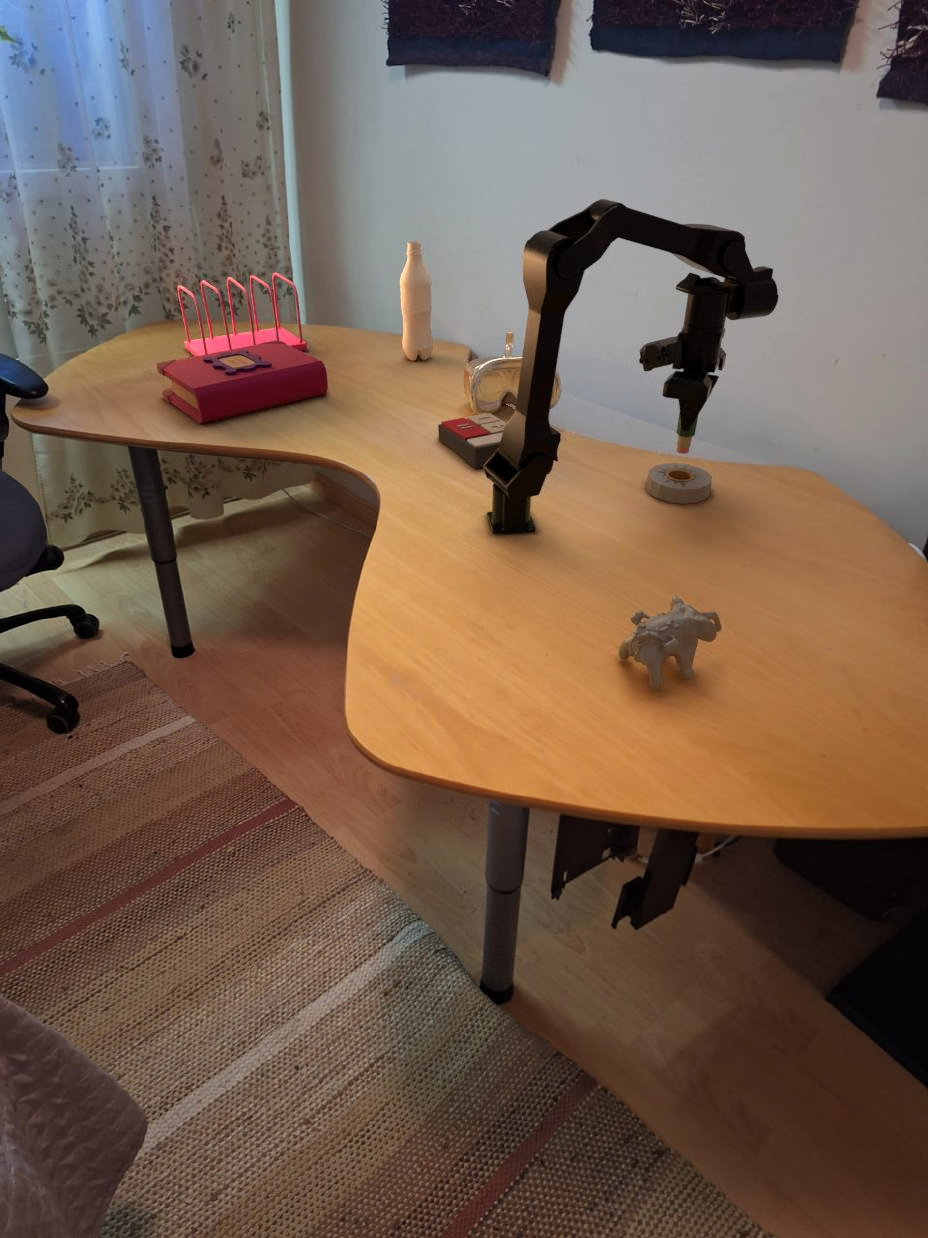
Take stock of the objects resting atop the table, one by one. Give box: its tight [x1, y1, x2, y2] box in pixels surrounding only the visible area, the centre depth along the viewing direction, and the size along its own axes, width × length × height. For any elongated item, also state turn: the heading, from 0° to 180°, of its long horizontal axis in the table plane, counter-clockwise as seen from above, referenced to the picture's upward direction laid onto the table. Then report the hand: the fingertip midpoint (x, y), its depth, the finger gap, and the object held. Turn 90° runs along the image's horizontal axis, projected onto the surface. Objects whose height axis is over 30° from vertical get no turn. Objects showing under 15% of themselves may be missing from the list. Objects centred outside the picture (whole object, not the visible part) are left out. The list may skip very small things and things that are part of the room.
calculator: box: [437, 413, 508, 469], centre depth 143 cm, size 11×4×15 cm
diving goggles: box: [463, 331, 562, 415], centre depth 157 cm, size 18×11×14 cm, turn 101°
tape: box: [645, 462, 713, 505], centre depth 129 cm, size 10×10×3 cm
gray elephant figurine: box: [618, 593, 723, 691], centre depth 90 cm, size 9×12×8 cm
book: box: [155, 340, 329, 424], centre depth 165 cm, size 21×28×8 cm
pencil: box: [675, 412, 699, 455], centre depth 123 cm, size 2×3×12 cm
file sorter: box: [177, 272, 308, 357], centre depth 190 cm, size 17×25×16 cm
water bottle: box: [399, 240, 434, 361], centre depth 182 cm, size 7×7×25 cm
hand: (687, 426), depth 124 cm, fingers closed on pencil, 2 cm apart
